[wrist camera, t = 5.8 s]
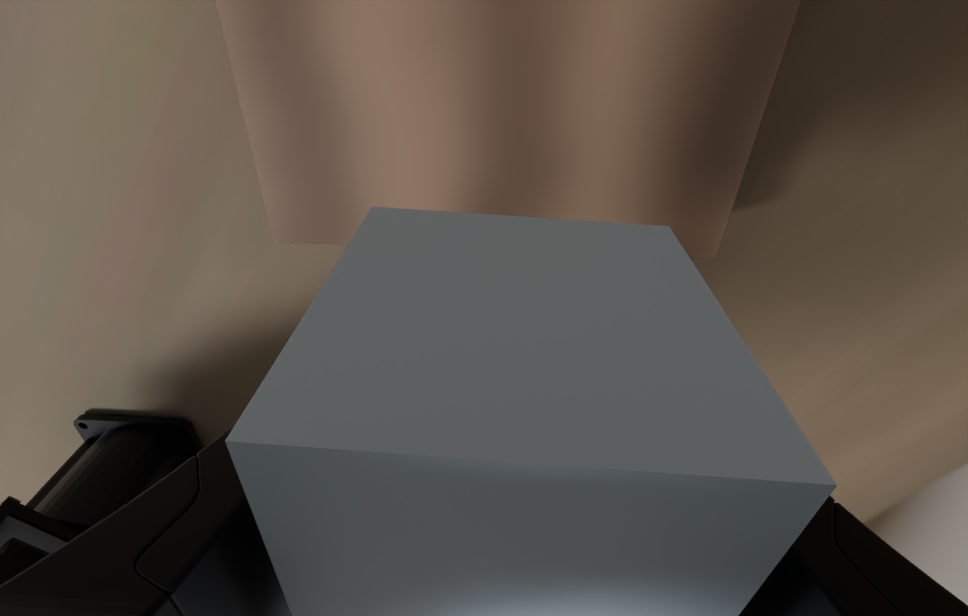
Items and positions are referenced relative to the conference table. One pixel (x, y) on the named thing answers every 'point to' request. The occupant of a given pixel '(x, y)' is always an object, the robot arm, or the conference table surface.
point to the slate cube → (520, 430)
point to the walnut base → (504, 108)
